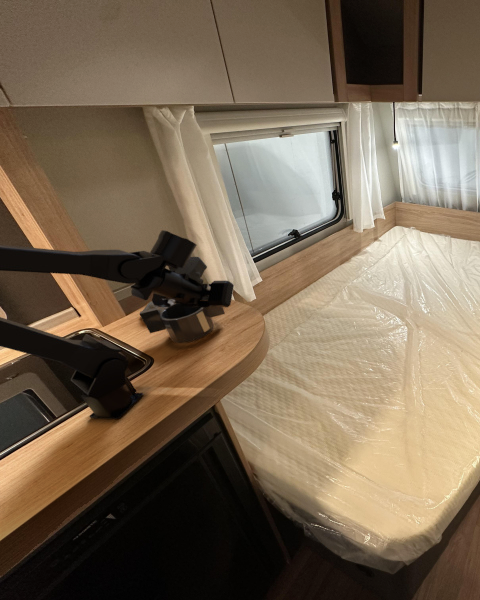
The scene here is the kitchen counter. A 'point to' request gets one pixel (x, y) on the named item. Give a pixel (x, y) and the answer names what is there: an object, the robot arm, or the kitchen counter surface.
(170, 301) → the fossilized seashell
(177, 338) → the pot
